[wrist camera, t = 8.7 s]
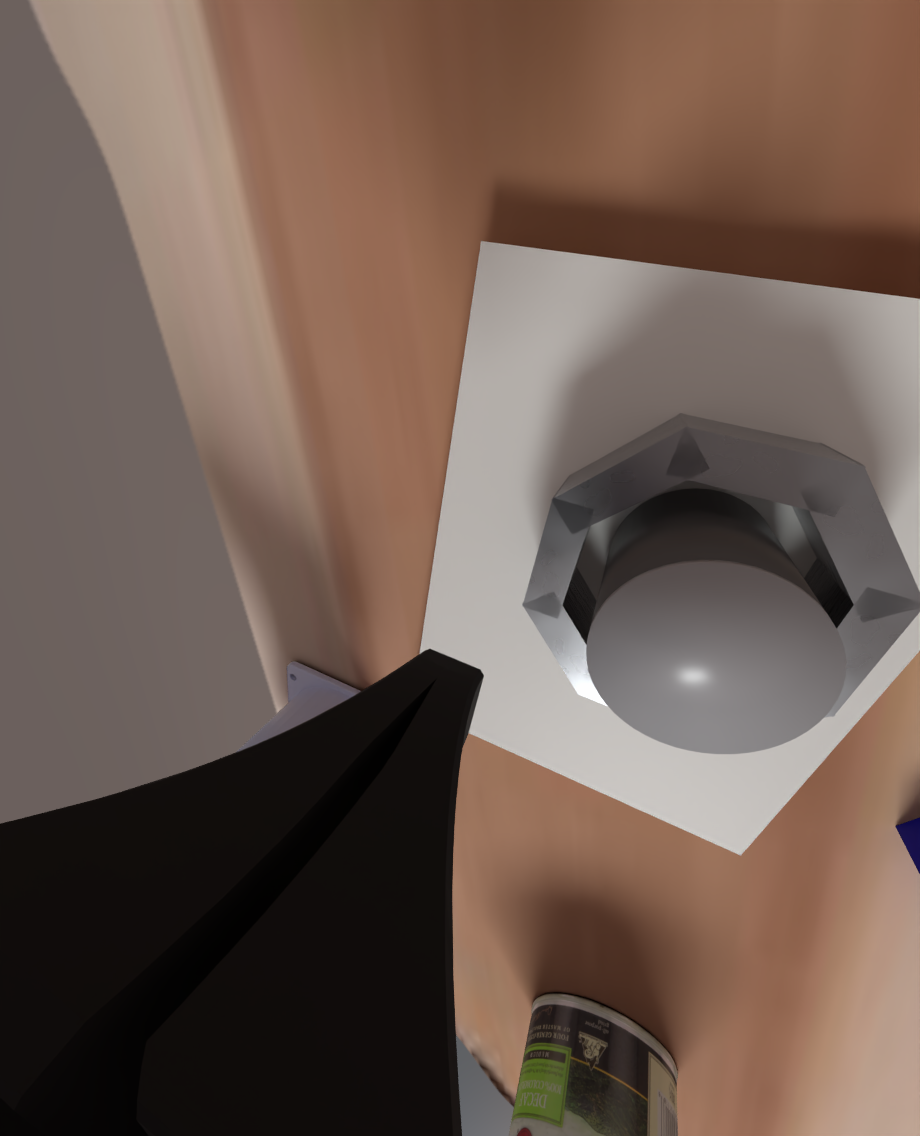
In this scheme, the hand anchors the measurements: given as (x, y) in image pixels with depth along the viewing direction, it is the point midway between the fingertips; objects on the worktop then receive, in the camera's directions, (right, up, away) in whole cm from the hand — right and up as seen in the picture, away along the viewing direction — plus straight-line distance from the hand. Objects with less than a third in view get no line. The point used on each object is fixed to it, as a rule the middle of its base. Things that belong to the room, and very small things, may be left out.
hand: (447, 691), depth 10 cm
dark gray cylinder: (+8, +3, +5) cm, 10 cm away
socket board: (+7, +2, +7) cm, 11 cm away
